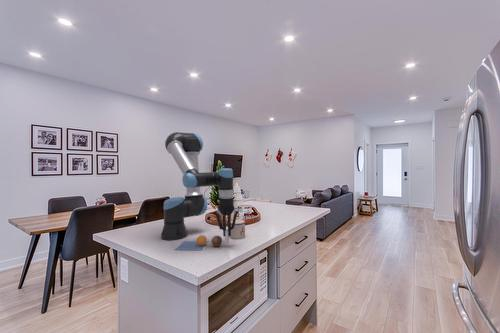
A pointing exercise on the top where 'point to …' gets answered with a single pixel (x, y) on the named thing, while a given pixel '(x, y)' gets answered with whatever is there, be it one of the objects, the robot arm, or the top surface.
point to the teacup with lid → (238, 229)
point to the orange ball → (201, 240)
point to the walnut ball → (216, 240)
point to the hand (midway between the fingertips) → (227, 242)
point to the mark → (190, 246)
